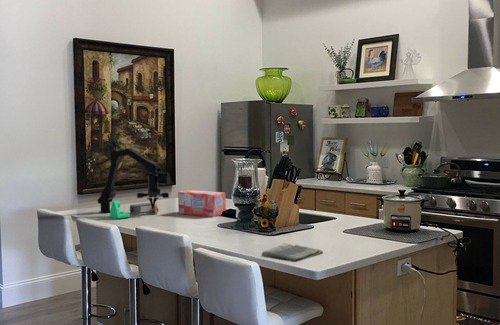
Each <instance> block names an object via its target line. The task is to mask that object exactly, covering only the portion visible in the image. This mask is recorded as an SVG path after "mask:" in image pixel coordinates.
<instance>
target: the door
mask: <svg viewBox="0 0 500 325" xmlns="http://www.w3.org/2000/svg"><path fill="white" fill-rule="evenodd" d="M158 212H159V207H158V205H157V203H155V205H154V212H153V213H154V214H155V215H158Z"/></svg>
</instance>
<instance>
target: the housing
mask: <svg viewBox="0 0 500 325" xmlns="http://www.w3.org/2000/svg"><path fill="white" fill-rule="evenodd" d="M147 213H148V214H150V213H155V212H154V208H153V209H152V206H151V203H150V202H147V203H146V202H144V203H143V202H142V203H135V204H130V205H129V214H133V215H139V214H140V215H142V214H147Z"/></svg>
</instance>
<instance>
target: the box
mask: <svg viewBox="0 0 500 325" xmlns="http://www.w3.org/2000/svg"><path fill="white" fill-rule="evenodd" d="M177 196H178V197H177V198H178V200H177V201H178V205H177V206H178V209H177V210H178V214H180V215H187V216H188V215H189V216H198V217H207V218H215V217H220V216H222V215H221V214H222V212H223V211H226V212H227V208H226V207H227V205H226V201H227V200H226V192H224V191H223V192H221V191H220V192H219V191H210V190H208V191H207V190H196V189H195V190H194V189H188V190H187V189H186V190H180V191H178V194H177Z"/></svg>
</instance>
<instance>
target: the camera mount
mask: <svg viewBox="0 0 500 325" xmlns="http://www.w3.org/2000/svg"><path fill="white" fill-rule="evenodd" d="M120 208H121V202H120V200H112V202H111V205H110V213H109V216H110V217H111V218H112V219H114V220H119V219H127V218H130V217H131V215H130V214H131V213H127V212H124V211H120Z"/></svg>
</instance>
